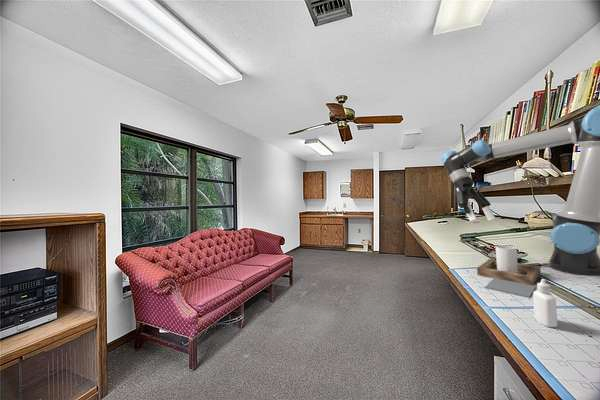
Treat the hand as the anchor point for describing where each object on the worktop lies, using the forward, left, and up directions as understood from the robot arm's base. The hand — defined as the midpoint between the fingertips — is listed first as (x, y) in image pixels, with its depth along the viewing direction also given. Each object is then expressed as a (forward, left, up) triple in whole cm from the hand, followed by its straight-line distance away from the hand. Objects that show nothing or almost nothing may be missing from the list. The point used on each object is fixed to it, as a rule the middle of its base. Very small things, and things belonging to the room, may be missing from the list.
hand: (483, 220), depth 105 cm
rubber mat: (-12, +17, -23) cm, 30 cm away
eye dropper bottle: (-23, +38, -23) cm, 50 cm away
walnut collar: (-8, +1, -23) cm, 24 cm away
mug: (-8, +1, -23) cm, 24 cm away
